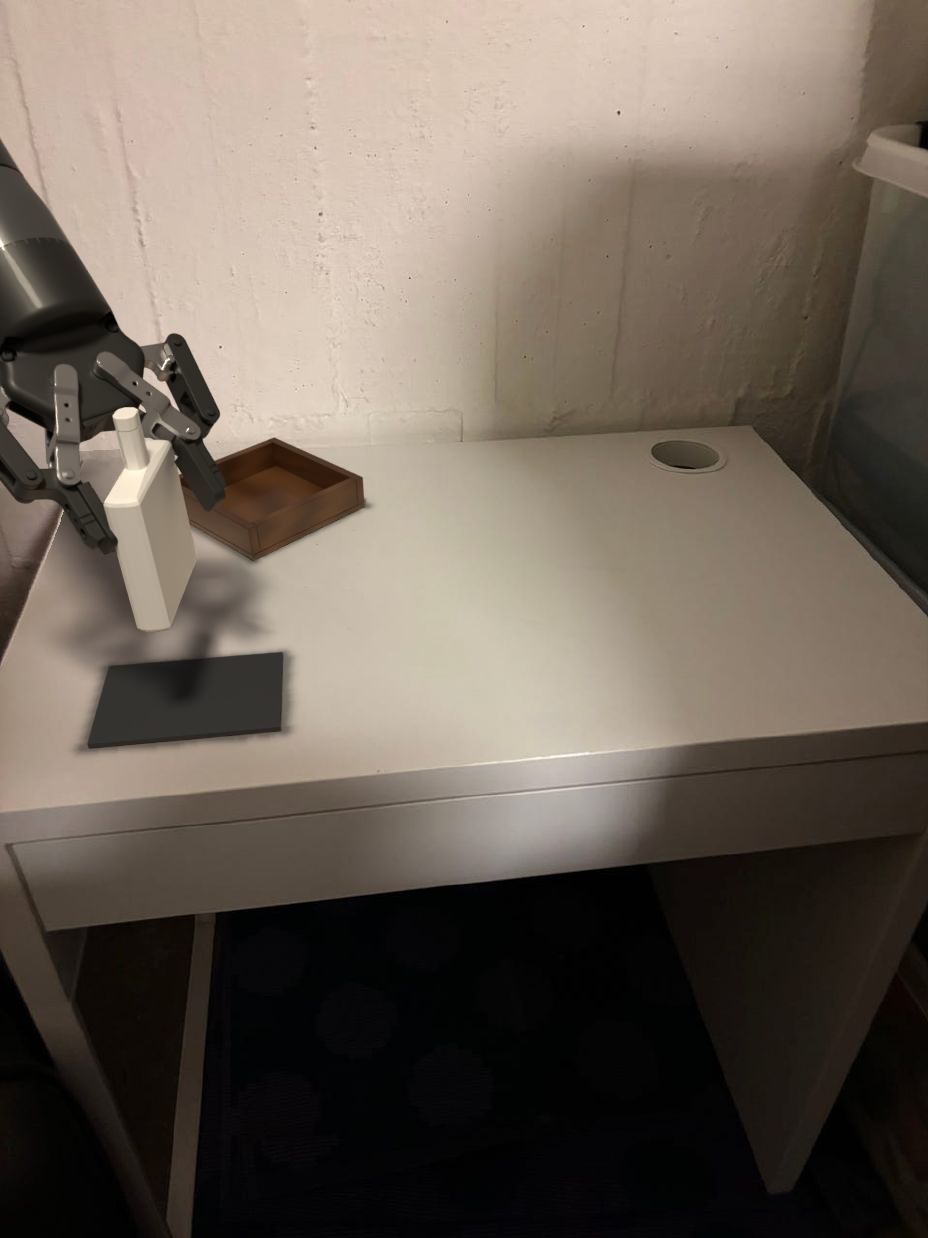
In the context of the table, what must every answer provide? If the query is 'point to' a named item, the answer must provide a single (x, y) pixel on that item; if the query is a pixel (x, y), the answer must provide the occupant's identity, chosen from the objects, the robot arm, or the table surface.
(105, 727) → the mat
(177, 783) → the table surface
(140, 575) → the perfume bottle
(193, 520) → the compartment
